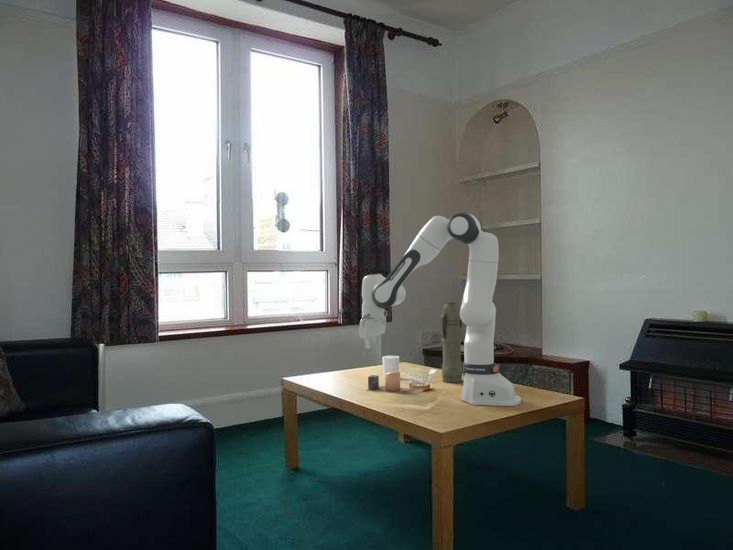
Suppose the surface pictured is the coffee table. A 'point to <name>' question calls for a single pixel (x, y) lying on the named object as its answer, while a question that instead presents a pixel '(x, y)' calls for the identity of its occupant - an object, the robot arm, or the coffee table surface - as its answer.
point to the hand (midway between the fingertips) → (372, 346)
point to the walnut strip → (374, 386)
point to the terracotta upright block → (392, 381)
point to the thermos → (451, 343)
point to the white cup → (390, 364)
